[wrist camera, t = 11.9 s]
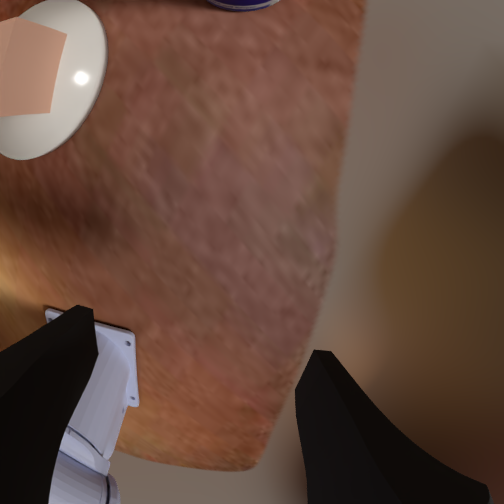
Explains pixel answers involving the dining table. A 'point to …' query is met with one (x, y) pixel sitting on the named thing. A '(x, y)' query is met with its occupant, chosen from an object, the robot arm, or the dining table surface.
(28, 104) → the cube
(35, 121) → the saucer
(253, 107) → the dining table surface
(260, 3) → the energy drink
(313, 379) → the robot arm
